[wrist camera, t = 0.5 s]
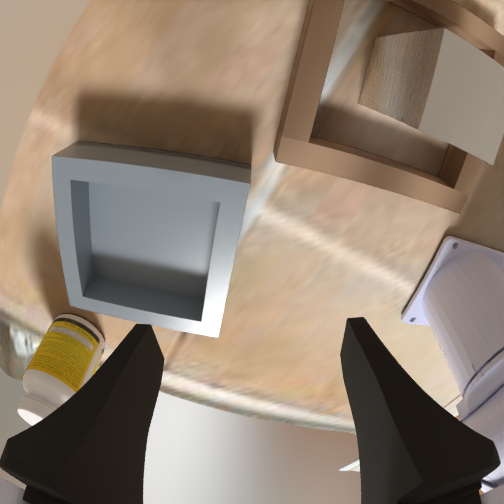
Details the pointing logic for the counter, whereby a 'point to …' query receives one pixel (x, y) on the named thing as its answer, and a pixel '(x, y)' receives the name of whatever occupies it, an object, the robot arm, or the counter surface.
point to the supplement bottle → (60, 366)
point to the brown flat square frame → (357, 161)
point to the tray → (148, 232)
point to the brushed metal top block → (438, 88)
